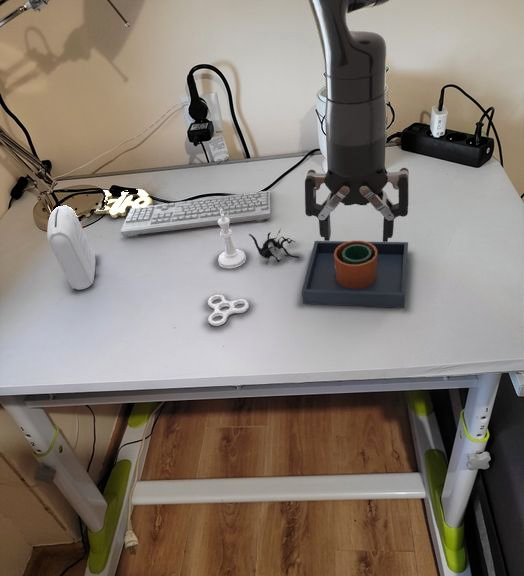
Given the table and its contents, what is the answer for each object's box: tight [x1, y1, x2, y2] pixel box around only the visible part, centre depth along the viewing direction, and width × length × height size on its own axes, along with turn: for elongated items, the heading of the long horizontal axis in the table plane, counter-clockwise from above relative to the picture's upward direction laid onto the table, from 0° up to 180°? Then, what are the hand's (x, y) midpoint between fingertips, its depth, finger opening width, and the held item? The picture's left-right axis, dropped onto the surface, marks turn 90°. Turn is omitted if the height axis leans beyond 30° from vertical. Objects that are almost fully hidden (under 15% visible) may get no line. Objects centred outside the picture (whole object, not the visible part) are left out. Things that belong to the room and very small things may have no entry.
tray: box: [301, 240, 409, 309], centre depth 80 cm, size 15×13×2 cm
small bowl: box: [342, 244, 372, 265], centre depth 79 cm, size 4×4×4 cm
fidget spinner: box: [207, 294, 250, 327], centre depth 80 cm, size 7×6×1 cm
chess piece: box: [217, 209, 247, 269], centre depth 86 cm, size 5×5×10 cm
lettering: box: [84, 189, 154, 219], centre depth 109 cm, size 25×10×1 cm, turn 80°
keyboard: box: [119, 190, 271, 238], centre depth 100 cm, size 29×10×2 cm, turn 90°
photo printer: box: [46, 205, 96, 291], centre depth 88 cm, size 10×4×12 cm, turn 11°
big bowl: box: [334, 240, 378, 289], centre depth 79 cm, size 6×6×4 cm
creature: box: [248, 228, 300, 263], centre depth 87 cm, size 8×5×8 cm
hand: (356, 238), depth 76 cm, fingers open, 8 cm apart
